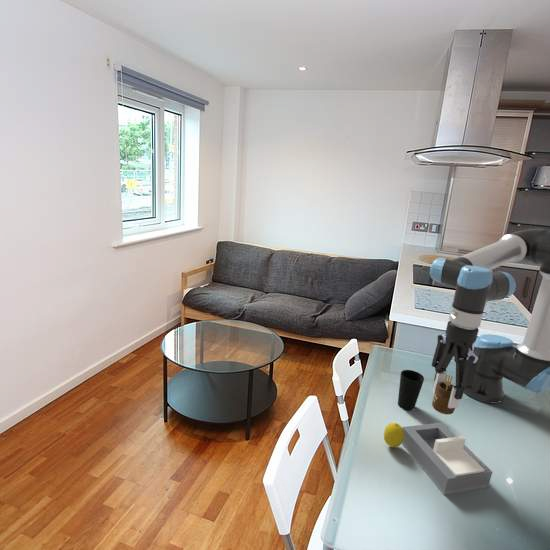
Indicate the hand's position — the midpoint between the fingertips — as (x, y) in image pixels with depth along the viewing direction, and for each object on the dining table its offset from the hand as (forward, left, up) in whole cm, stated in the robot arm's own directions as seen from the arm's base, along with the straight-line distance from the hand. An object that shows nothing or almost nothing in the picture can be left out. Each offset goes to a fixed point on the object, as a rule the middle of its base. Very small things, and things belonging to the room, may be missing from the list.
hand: (444, 400), depth 107 cm
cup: (-6, -22, -18) cm, 29 cm away
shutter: (0, +9, -13) cm, 16 cm away
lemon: (+11, -4, -18) cm, 21 cm away
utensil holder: (0, 0, -3) cm, 3 cm away
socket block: (0, +4, -18) cm, 18 cm away
